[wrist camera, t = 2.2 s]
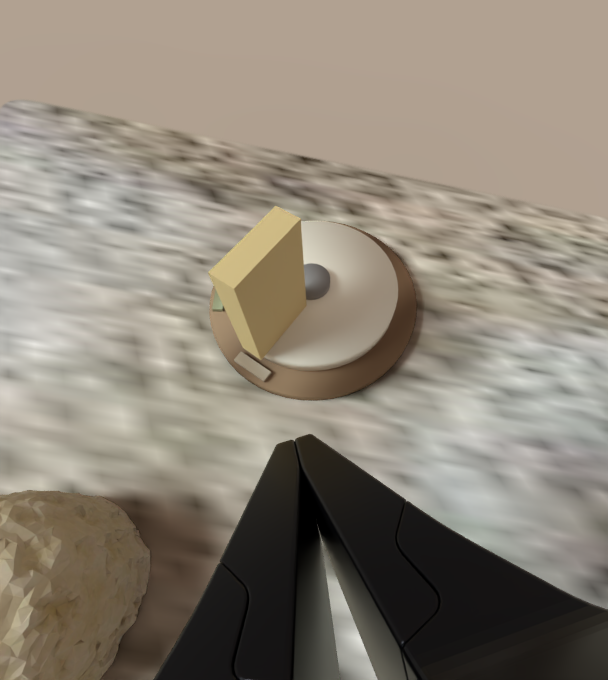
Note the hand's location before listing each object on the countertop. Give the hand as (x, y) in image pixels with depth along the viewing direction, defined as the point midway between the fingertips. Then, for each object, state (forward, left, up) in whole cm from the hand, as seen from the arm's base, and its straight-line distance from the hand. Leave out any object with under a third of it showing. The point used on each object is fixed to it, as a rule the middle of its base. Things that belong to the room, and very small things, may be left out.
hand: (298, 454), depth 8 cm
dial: (+8, -9, -11) cm, 16 cm away
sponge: (+6, +12, -13) cm, 19 cm away
